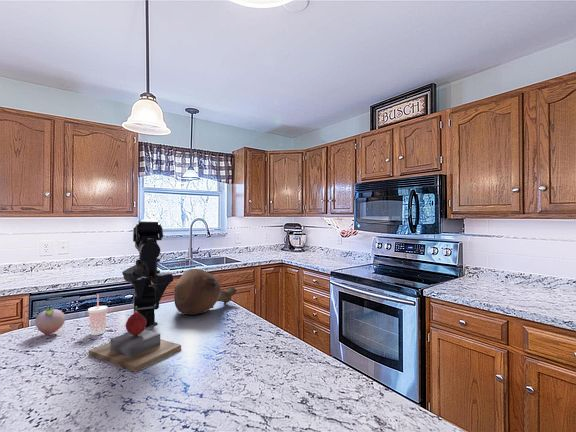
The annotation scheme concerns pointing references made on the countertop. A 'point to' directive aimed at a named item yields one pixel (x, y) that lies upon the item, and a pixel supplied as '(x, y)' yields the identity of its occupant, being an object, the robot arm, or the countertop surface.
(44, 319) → the decorative fruit
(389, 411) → the countertop surface
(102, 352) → the stacking base
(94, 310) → the beverage cup
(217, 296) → the jug
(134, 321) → the onion
